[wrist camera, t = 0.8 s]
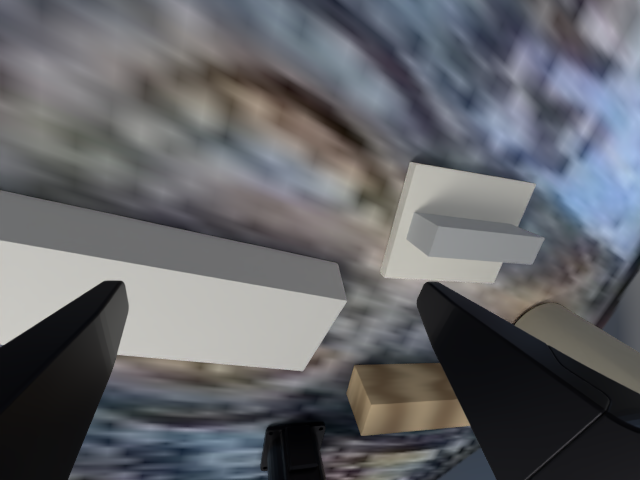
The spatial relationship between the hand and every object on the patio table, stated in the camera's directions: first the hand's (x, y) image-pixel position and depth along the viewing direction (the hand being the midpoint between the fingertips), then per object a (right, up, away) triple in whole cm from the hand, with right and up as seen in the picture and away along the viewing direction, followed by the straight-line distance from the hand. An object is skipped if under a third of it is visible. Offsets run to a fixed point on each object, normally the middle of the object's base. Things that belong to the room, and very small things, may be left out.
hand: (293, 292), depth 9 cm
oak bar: (+13, -14, +25) cm, 32 cm away
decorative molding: (-15, -1, +14) cm, 21 cm away
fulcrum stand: (+13, +3, +18) cm, 22 cm away
